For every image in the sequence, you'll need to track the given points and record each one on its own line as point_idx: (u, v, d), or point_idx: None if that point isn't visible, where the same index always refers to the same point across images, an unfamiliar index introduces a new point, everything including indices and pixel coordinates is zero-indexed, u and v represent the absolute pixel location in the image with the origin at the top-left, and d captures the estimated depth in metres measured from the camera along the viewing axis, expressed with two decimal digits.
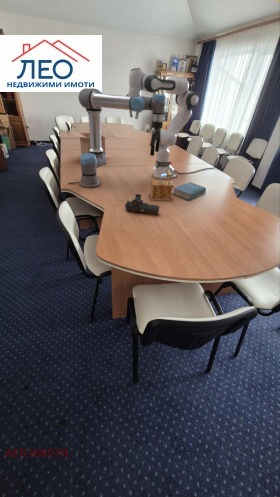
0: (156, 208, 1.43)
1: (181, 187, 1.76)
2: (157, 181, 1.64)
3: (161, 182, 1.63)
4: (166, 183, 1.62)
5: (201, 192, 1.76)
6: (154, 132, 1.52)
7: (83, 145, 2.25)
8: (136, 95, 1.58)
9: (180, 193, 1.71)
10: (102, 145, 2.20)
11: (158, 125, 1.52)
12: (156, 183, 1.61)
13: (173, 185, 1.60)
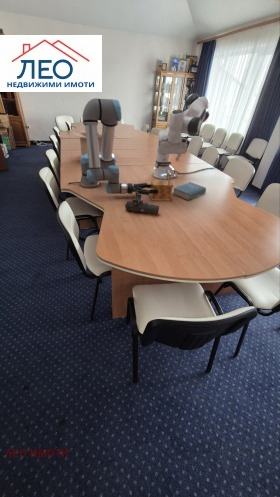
0: (156, 208, 1.43)
1: (181, 187, 1.76)
2: (157, 181, 1.64)
3: (161, 182, 1.63)
4: (166, 183, 1.62)
5: (201, 192, 1.76)
6: None
7: (83, 145, 2.25)
8: (167, 137, 1.45)
9: (180, 193, 1.71)
10: None
11: None
12: (156, 183, 1.61)
13: (173, 185, 1.60)
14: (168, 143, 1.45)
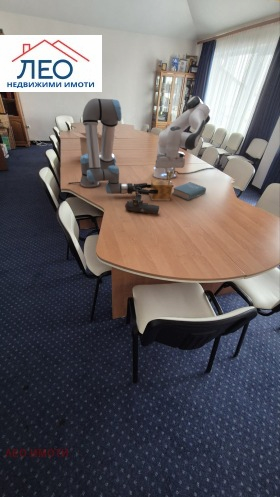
0: (156, 208, 1.43)
1: (181, 187, 1.76)
2: (157, 181, 1.64)
3: (161, 182, 1.63)
4: (166, 183, 1.62)
5: (201, 192, 1.76)
6: None
7: (83, 145, 2.25)
8: (165, 152, 1.50)
9: (180, 193, 1.71)
10: None
11: None
12: (156, 183, 1.61)
13: (173, 185, 1.60)
14: (166, 158, 1.50)
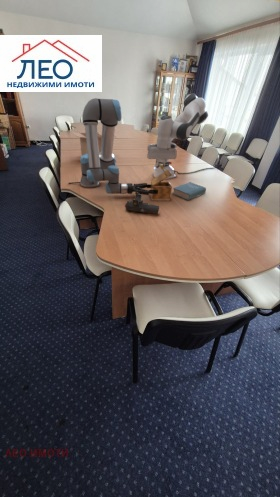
0: (156, 208, 1.43)
1: (181, 187, 1.76)
2: (156, 178, 1.63)
3: (159, 177, 1.60)
4: (164, 175, 1.58)
5: (201, 192, 1.76)
6: None
7: (83, 145, 2.25)
8: None
9: (180, 193, 1.71)
10: None
11: None
12: (155, 181, 1.60)
13: None
14: (157, 148, 1.46)
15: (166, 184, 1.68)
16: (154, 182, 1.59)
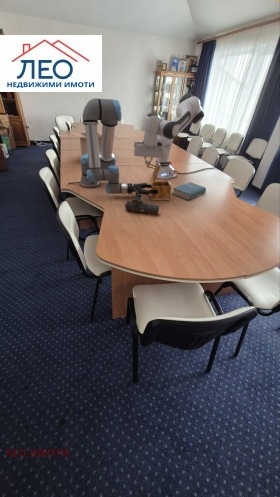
0: (156, 208, 1.43)
1: (181, 187, 1.76)
2: (152, 176, 1.62)
3: (154, 174, 1.58)
4: (156, 170, 1.55)
5: (201, 192, 1.76)
6: None
7: (83, 145, 2.25)
8: None
9: (180, 193, 1.71)
10: None
11: None
12: (152, 180, 1.59)
13: (159, 165, 1.50)
14: (143, 146, 1.45)
15: (166, 183, 1.67)
16: (152, 181, 1.59)
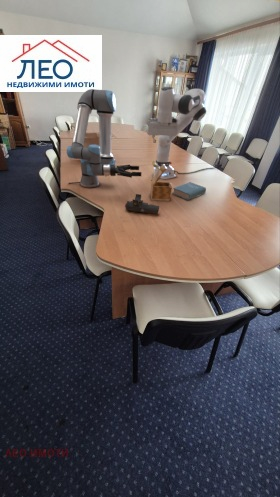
0: (156, 208, 1.43)
1: (181, 187, 1.76)
2: (154, 176, 1.62)
3: (157, 174, 1.59)
4: (160, 171, 1.56)
5: (201, 192, 1.76)
6: None
7: None
8: (157, 117, 1.37)
9: (180, 193, 1.71)
10: None
11: None
12: (154, 180, 1.59)
13: (165, 168, 1.51)
14: (157, 123, 1.37)
15: (166, 184, 1.68)
16: (153, 181, 1.59)
